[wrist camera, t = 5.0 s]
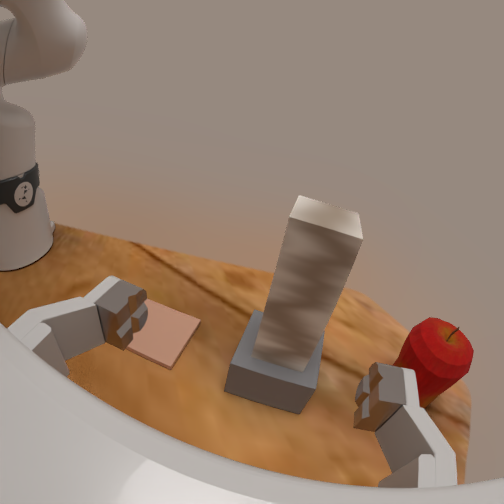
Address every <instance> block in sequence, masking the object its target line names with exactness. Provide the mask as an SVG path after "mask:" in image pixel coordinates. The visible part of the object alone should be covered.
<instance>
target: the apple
mask: <svg viewBox="0 0 504 504" xmlns="http://www.w3.org/2000/svg"><path fill="white" fill-rule="evenodd" d="M472 358H473V348H472V346H471V344H470V342H469V340H468V339H467V338H466V337H465V335H464V334H463V333H462V332H461V331H460V330H459V327H458V328H456V327H455V326H453V325H452V324H450V323H448V322H445V321H442V320H441V319H438V318H430V317H429V318H428V319H426V320H424V321H423V322H421V323H419V324H418V325H416V326H415V327H413V328H412V330H411V332H410V333H409V335H408V337H407V338H406V340H405V342H404V344H403V347H402V349H401V352H400V354H399V357H398V358H397V360H396V361H395V363H394V364H393V366H396V367H400V368H401V367H402V368H407V369H412V370H414V371H415V375H416V382H417V389H418V396H419V405H420V407H421V408H425V407H426V406H428V405H429V404H430V403H431V402H432V401H433V400H434V399H435V398H436V397H437V396H438V395H440V394H441V393H443V392H444V391H445V390H447V389H448V388H449V387H451V386H452V385H453V384H455V383H456V382H457V381H458V380H459V379H461V378H462V377H463V376H464V375H465V374H467V373H468V371H469V368H470V365H471V362H472Z"/></svg>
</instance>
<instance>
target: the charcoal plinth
mask: <svg viewBox="0 0 504 504" xmlns="http://www.w3.org/2000/svg"><path fill="white" fill-rule="evenodd" d="M263 313H264V312H261V311H257V310H254V312H253V314H252V316H251V318H250V321H249V323H248V325H247V327H246V330H245V332H244V334H243V336H242V338H241V341H240V343H239V345H238V347H237V350H236V352H235V354H234V356H233V358H232V361H231V363H230V367H229V371H228V376H227V381H226V385H225V390H224V391H226V392H228V393H231V394H234V395H237V396H240V397H243V398H246V399H249V400H252V401H255V402H258V403H262V404H265V405H268V406H272V407H275V408H278V409H282V410H286V411H289V412H293V413H297V414H300V412H301V411H302V409H303V408H304V406H305V405H306V404H307V402H308V401H309V399H310V398H311V396H312V394H313V393H314V391H315V390H316V386H317V380H318V373H319V367H320V360H321V354H322V347H323V339H324V332H323V334H322V336H321V338H320V340H319V342H318V344H317V346H316V348H315V350H314V352H313V354H312V356H311V358H310V360H309V362H308V364H307V365H306V367H305V369H304V371H303V373H302V372H299V371H295V370H292V369H288V368H285V367H282V366H278V365H275V364H272V363H269V362H265V361H262V360H259V359H256V358H253V357H251V355H252V352H253V348H254V345H255V341H256V338H257V334H258V331H259V327H260V324H261V320H262V317H263Z"/></svg>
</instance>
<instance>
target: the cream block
mask: <svg viewBox="0 0 504 504" xmlns="http://www.w3.org/2000/svg"><path fill="white" fill-rule="evenodd" d="M362 241H363V236H362V230H361V223H360V218H359V214H358V213H356V212H353V211H350V210H347V209H343V208H340V207H337V206H334V205H330V204H327V203H324V202H320V201H317V200H314V199H310V198H307V197H303V196H300V195H299V197H298V199H297V201H296V203H295V205H294V208H293V210H292V212H291V214H290V216H289V220H288V224H287V227H286V231H285V236H284V239H283V243H282V247H281V251H280V254H279V258H278V262H277V266H276V269H275V273H274V277H273V280H272V284H271V288H270V291H269V295H268V299H267V302H266V306H265V310H264V313H263V317H262V320H261V324H260V327H259V331H258V334H257V338H256V341H255V345H254V348H253V352H252V355H251V357H253V358H256V359H259V360H262V361H265V362H269V363H272V364H275V365H278V366H282V367H285V368H288V369H292V370H295V371H299V372H302V373H303V371H304V369H305V367H306V365H307V364H308V362H309V360H310V358H311V356H312V354H313V352H314V350H315V348H316V346H317V344H318V342H319V340H320V338H321V336H322V334H323V332H324V329H325V327H326V325H327V323H328V321H329V319H330V317H331V315H332V312H333V310H334V308H335V306H336V304H337V301H338V299H339V297H340V295H341V292H342V290H343V288H344V285H345V283H346V281H347V278H348V276H349V274H350V271H351V269H352V266H353V264H354V261H355V259H356V256H357V254H358V251H359V249H360V246H361V244H362Z"/></svg>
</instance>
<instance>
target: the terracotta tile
mask: <svg viewBox="0 0 504 504" xmlns="http://www.w3.org/2000/svg"><path fill="white" fill-rule="evenodd" d="M144 303H145V305H146V306H147V308H148V317H147V321H146V323H145V325H144V327H143V328H142V329H141V330H140V331H139V332H136V333H133V340H132V341H131V343H130V344H129V345H128V346H127V347H126V349H128V350H130V351H132V352H134V353H136V354H138V355H140V356H142V357H144V358H146V359H148V360H150V361H153V362H155V363H157V364H159V365H161V366H163V367H166V368H168V369H170V370H171V369H172V367H173V366H174V364H175V363H176V361H177V360H178V358H179V356H180V355H181V353H182V352H183V350H184V349H185V347H186V345H187V344H188V342H189V341H190V339H191V338H192V336H193V334H194V333H195V331H196V330H197V328H198V327H199V325H200V323H201V320H200V319H197V318H195V317H192V316H189V315H187V314H184V313H182V312H179V311H176V310H174V309H171V308H169V307H166V306H164V305H161V304H159V303H157V302H154V301H152V300H149V299H146V300H145V301H144Z"/></svg>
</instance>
